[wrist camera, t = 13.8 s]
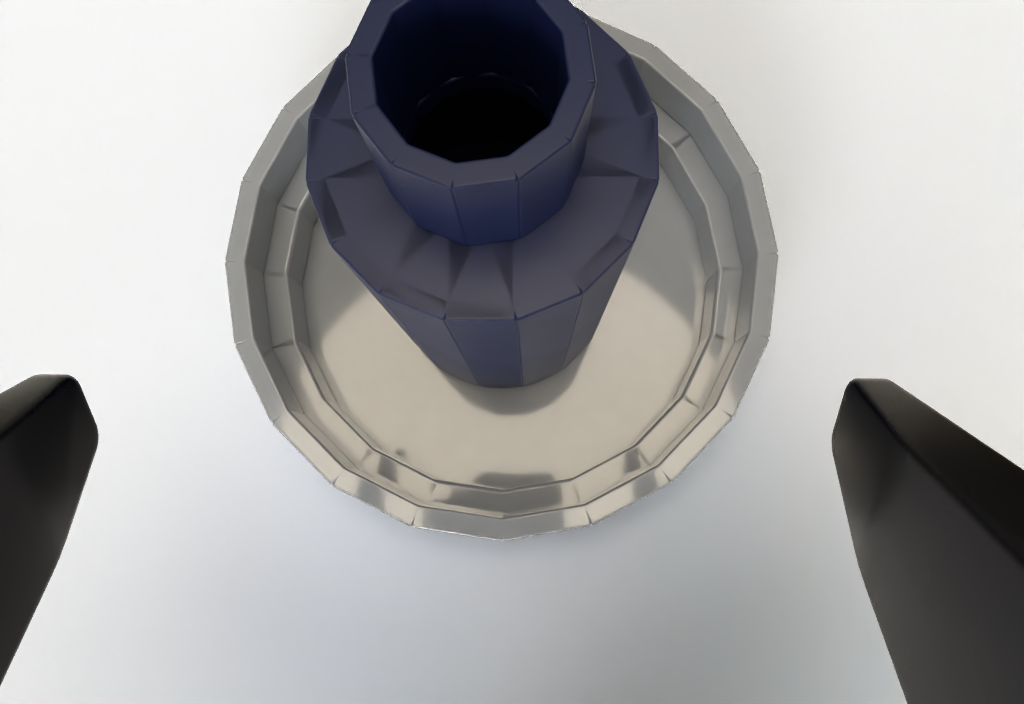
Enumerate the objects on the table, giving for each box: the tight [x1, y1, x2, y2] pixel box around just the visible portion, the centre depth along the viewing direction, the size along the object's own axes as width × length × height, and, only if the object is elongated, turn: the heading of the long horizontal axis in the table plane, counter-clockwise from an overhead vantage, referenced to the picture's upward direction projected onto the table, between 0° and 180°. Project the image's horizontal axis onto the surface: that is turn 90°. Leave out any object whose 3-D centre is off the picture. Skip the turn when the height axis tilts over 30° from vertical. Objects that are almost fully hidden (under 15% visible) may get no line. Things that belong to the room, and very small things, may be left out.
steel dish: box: [225, 15, 778, 541], centre depth 21 cm, size 13×13×3 cm
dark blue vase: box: [306, 0, 660, 389], centre depth 16 cm, size 6×6×12 cm
